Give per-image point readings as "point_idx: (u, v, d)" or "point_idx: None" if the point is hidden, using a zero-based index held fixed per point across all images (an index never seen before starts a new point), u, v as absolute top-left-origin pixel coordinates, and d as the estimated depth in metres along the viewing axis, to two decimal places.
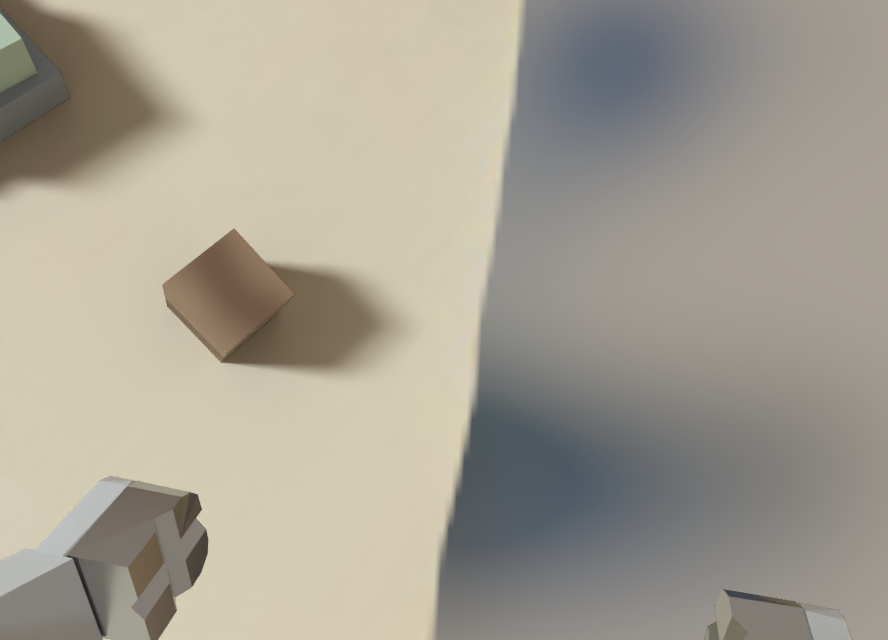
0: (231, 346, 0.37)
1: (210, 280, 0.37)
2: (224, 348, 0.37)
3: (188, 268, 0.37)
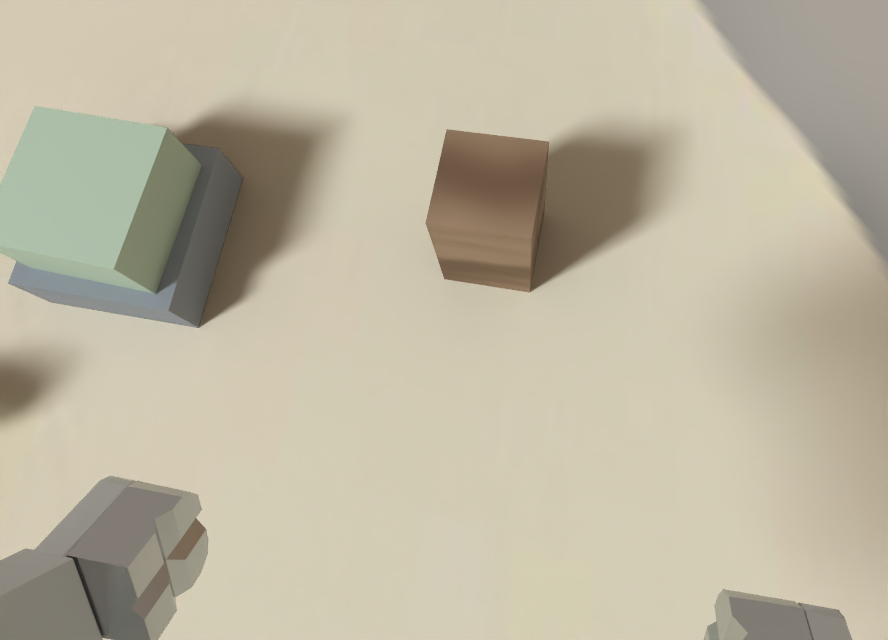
0: (531, 229, 0.31)
1: (463, 187, 0.32)
2: (526, 236, 0.31)
3: (436, 192, 0.32)
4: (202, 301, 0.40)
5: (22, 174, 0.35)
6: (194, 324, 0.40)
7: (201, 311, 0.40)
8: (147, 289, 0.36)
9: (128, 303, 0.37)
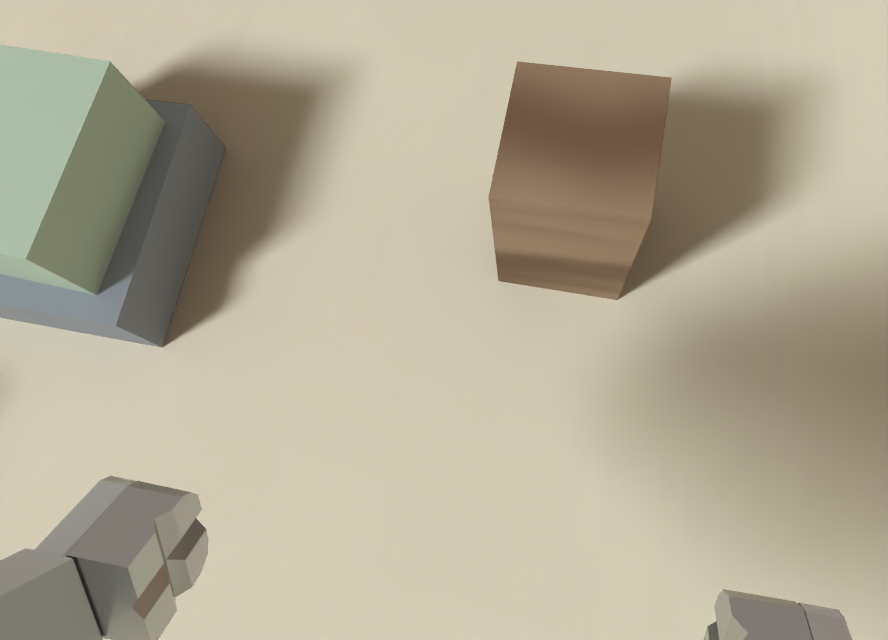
0: (650, 206, 0.20)
1: (543, 145, 0.22)
2: (642, 217, 0.20)
3: (503, 152, 0.22)
4: (168, 312, 0.30)
5: None
6: (156, 343, 0.29)
7: (167, 325, 0.30)
8: (83, 288, 0.26)
9: (61, 315, 0.27)
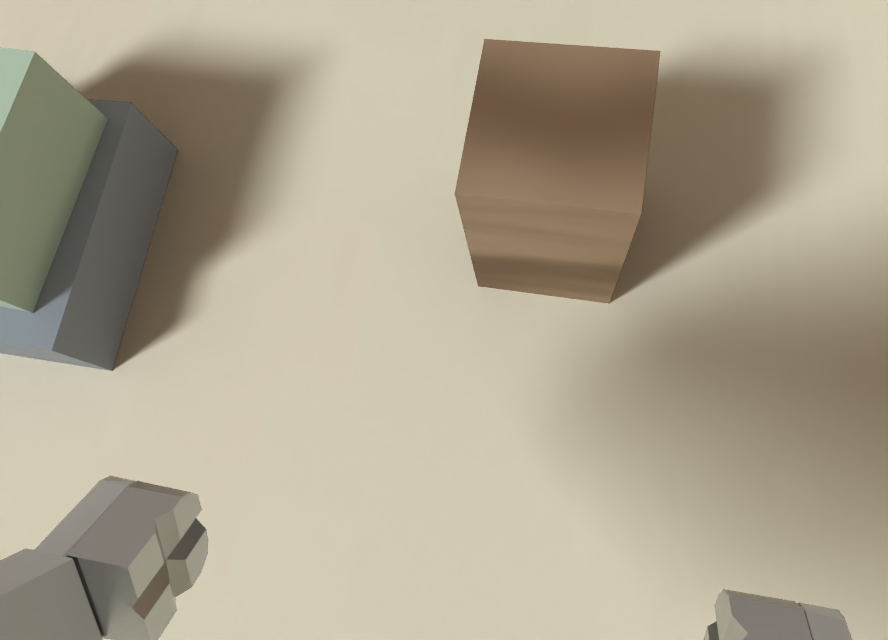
0: (639, 199, 0.18)
1: (516, 132, 0.19)
2: (631, 211, 0.18)
3: (471, 142, 0.19)
4: (117, 331, 0.27)
5: None
6: (104, 366, 0.27)
7: (116, 346, 0.27)
8: (16, 306, 0.24)
9: None
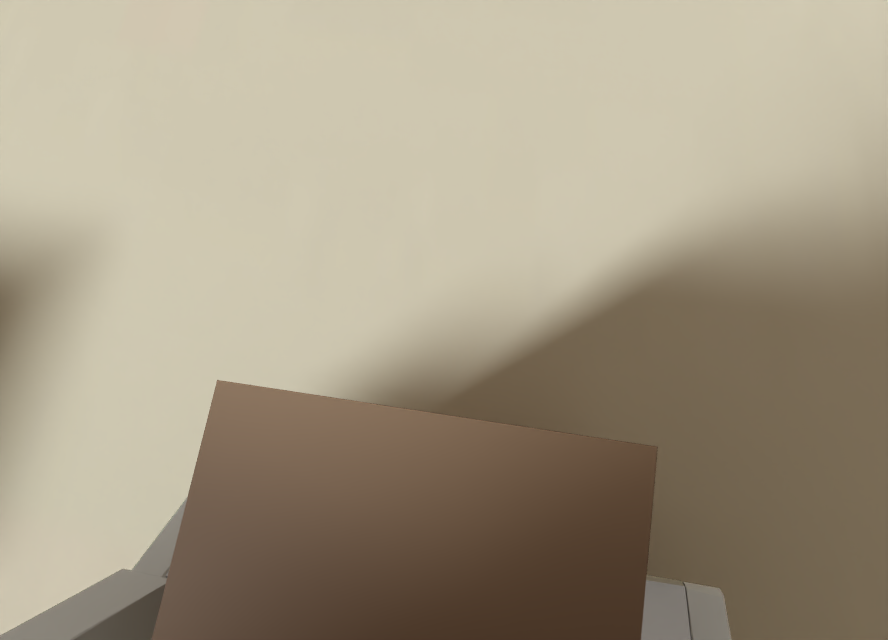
0: None
1: None
2: None
3: None
4: None
5: None
6: None
7: None
8: None
9: None
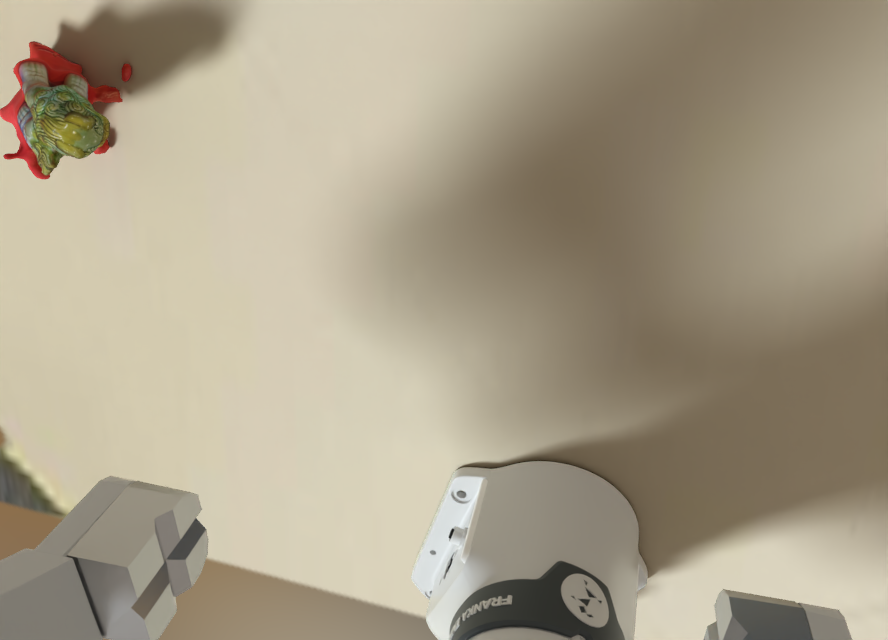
0: None
1: None
2: None
3: None
4: None
5: None
6: None
7: None
8: None
9: None
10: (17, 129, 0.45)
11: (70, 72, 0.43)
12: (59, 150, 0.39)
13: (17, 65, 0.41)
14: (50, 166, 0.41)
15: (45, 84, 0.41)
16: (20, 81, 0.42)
